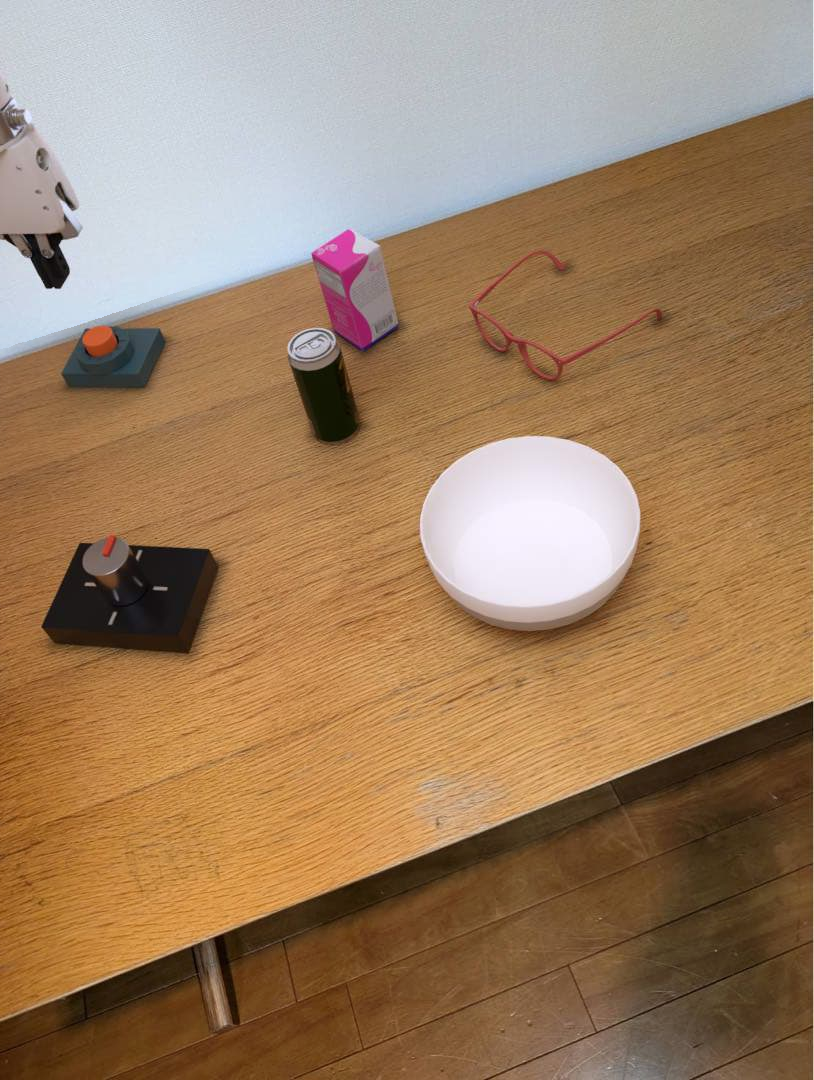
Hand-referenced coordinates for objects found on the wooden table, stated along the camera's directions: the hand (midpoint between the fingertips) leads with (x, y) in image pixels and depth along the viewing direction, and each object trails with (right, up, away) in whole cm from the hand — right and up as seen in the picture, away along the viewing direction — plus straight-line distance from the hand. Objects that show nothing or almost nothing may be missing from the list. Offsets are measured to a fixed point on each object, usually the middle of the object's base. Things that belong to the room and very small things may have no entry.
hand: (58, 280), depth 109 cm
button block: (+3, -7, +11) cm, 14 cm away
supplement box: (+33, -4, +8) cm, 35 cm away
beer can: (+31, -17, -1) cm, 35 cm away
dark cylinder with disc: (+11, -33, -14) cm, 38 cm away
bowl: (+50, -32, -17) cm, 61 cm away
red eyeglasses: (+56, -5, +3) cm, 56 cm away
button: (+2, -6, +8) cm, 10 cm away
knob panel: (+12, -35, -12) cm, 39 cm away
